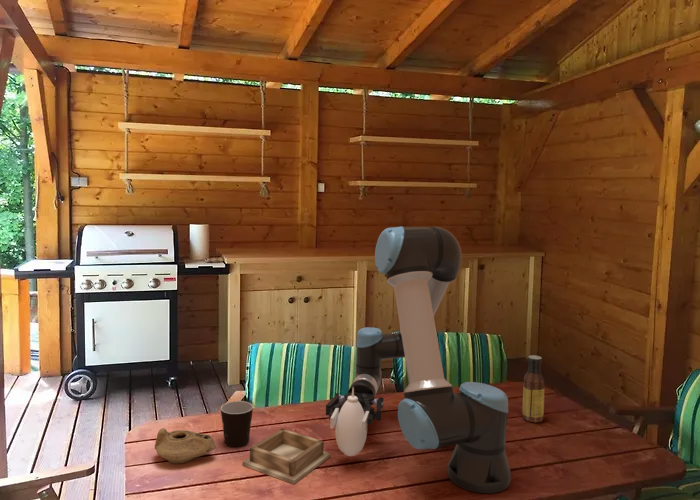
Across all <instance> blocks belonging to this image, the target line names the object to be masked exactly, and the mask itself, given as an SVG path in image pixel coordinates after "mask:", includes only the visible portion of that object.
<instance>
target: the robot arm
mask: <svg viewBox="0 0 700 500" xmlns="http://www.w3.org/2000/svg"><path fill="white" fill-rule="evenodd" d="M462 257H463V254H462V249H461V245H460V243H459V241H458V239H457V238H456V237H455V236H454V234H453V233H452V232H451V231H449V230H448V229H445V228H443V227H441V226H395V227H387V228H385V229H384V230H382V232H381V233H380V234H379V236H378V238H377V242H376V245H375V251H374V262H375V267H376V269H377V272H378V273H380V274H383V275H385V276H386V282H387V284H389V285H390V286H391V287H392V288H393V289H394V296H395V302H396V308H397V309H396V310H397V314H398V316H397V317H398V322H399V328H400V329H399V331H398V332H394V333H383V332H382V331H383V330H381V329H380V328H379V327H370V326H369V327H368V326H367V327H362V328H360V329H359V330H357V334H356V335H357V336H356V343H355V348H356V349H355V350H356V351H355V352H356V353H355V354H356V356H355V357H356V359H355V360H356V361H355V362H356V363H355V377H354V380H353V381H352V383H351V384H350V387H349V389H348V390H347V393H345V394H344V395H341V394H340V393H339V392H336V393H334V397H332V398H331V400H329V402H327V404H325V415H326V416H328V419H329V421H330V423H329V429H331V430H333V429H334V428H335V427H336V422H337V418H338V415H339V412H340V410H341V408H342V406H343V405H344V403H345V402H346V401H347V398H348V396H352V389H353V388H354V396H356V397H357V398H358V401H359V403H360V404H361V406H362V408H363V411H364V414H365V415H364V418H363V420H362V432H365V430H366V428H367V429H368V426H369V425H372V424H373V421H374V420H376V421H381V420H382V409H383V408H384V397H378V398H376V395H377V392H378V390H379V387H380V385H381V383H382V380H383V374H382V370H381V368H382V361H383V360H391V359H392V360H393V359H402V358H404V360H405V366H406V374H407V381H408V384H407V387H406V388H405V389H404V390H403V395H404V398H403V399H402V400H401V401H400V402H398V403H399V404H398V406H397V409H398V410H397V419H398V424H399V427H400V431H401V432H402V435H403V437H404V439H405V440H406V441H407V443H408V444H409V445H410V446H412V447H413V448H414V449H416V450H428V449H430V450H435V449H437V448H442V447H447V446H455V447H454V449H453V451H452V454H451V457H450V459H449V461H448V464H447V475H448V479H449V480H450V481H451V482H452V483H453V484H455V485H456V486H457V487H458V488H459V487H460V488H462V489H464V490H465V491H469V492H473V493H479V494H496V493H499V492H503V491H505V490H506V489H508V487H509V486H510V484H511V475H512V474H511V473H512V472H511V469H510V465H509V462H508V458H507V454H506V438H507V425H508V424H507V423H508V414H509V412H510V411H509V397H508V396H507V394H506V392H504V391H503V390H502V389H500V388H498V387H495V386H493V385H491V384H488V383H487V384H486V383H484V382H483V383H482V382H475V381H466V382H463V383H461V384H460V386H459V388H458V390H459V392H454V388H453V385H452V384H451V383H450V382H448V381H447V379H446V378H445V375H444V369H443V364H442V363H443V362H442V356H441V352H440V351H441V350H440V347H439V346H440V344H439V339H438V334H437V327H436V322H435V317H434V316H435V314H436V312H437V311H438V308H439V306H440V305H441V301H442V300H443V297H444V295H445V293H446V292H447V290H448V287H449V285H450V283H452V282H454V281H455V280H456V279H457V276H458V275H459V273H460V270H461V267H462V262H463V258H462ZM373 405H375V408H376V411H375V408H374V407H373Z"/></svg>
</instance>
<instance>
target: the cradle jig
mask: <svg viewBox="0 0 700 500" xmlns="http://www.w3.org/2000/svg"><path fill="white" fill-rule="evenodd" d="M324 443H325V442H324V440H320V439H318V438H315V437H311V436H308V435H304V434H302V433H299V432H295V431H293V430H288V429H285V428H280V429H279V430H277V431H276V432H274V433H271V434H270V435H269V436H267V437H265V438H263V439H262V440H261V441H259V442H257V443H256V444H254V445H252V446H251V447H249V456H248V458H246V459H245V460H243V461H242V466H243V467H244V468H245V467H246V468H249V469H252V470H253V471H257V472H259V473H262V474H265V475H268V476H269V477H274V478H276V479H278V480H281V481H284V482H286V483H289V484H292V485H295V484H297V483H298V482H299V481H301V480H302V479H303V478H305V477H306V476H307V475H308V474H310V473H311V472H312V471H315V469H316V468H318V467H319V466H320V465H322V464H323V463H324V462H326V461H327V460H329V459H330V458H331V453H330V452H327V451H324V449H325V447H324Z"/></svg>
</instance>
